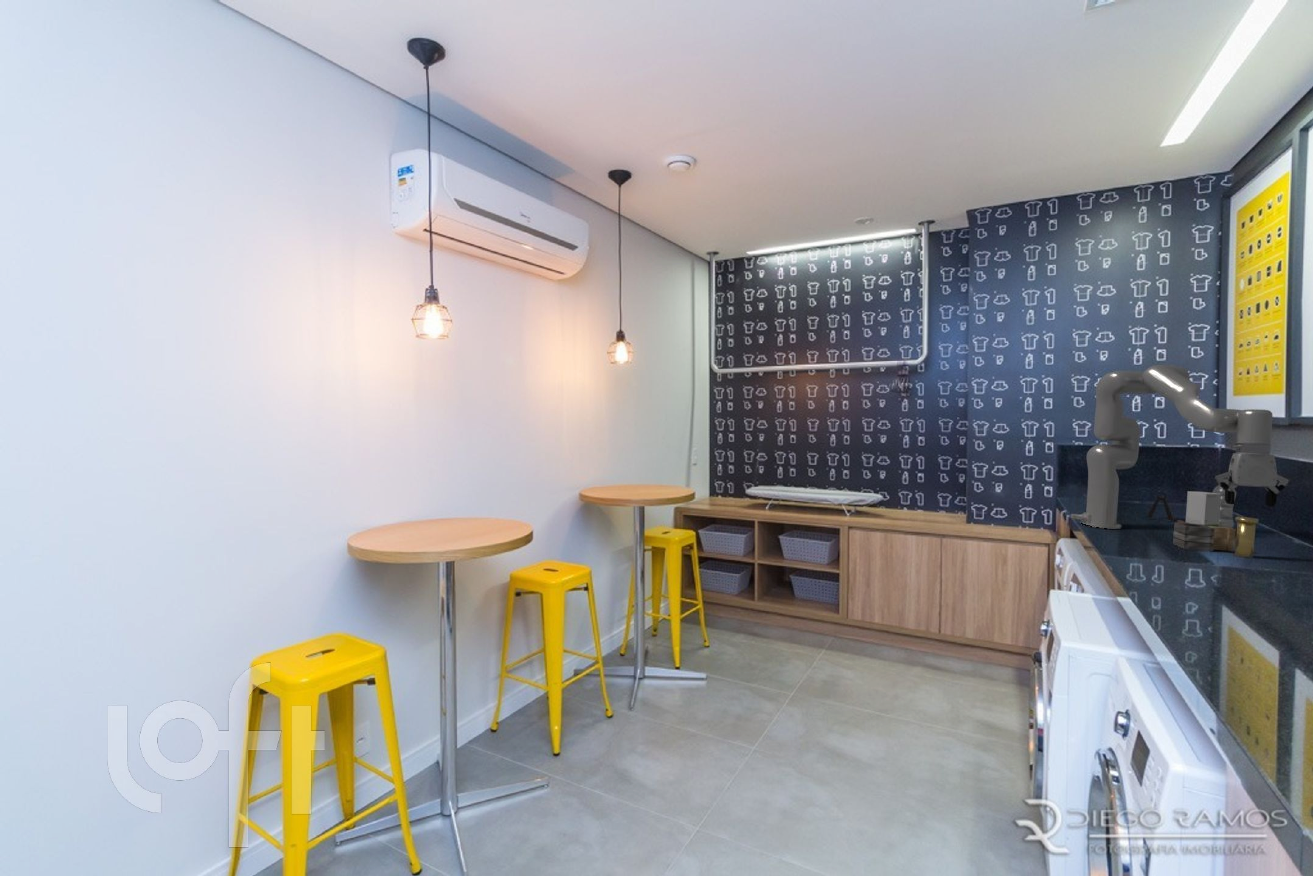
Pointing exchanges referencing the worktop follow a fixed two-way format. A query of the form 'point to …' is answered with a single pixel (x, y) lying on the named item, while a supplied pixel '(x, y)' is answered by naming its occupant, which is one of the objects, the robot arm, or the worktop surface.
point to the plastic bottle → (1225, 508)
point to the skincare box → (1203, 508)
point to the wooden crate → (1213, 538)
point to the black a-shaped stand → (1167, 508)
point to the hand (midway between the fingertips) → (1249, 504)
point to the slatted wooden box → (1193, 530)
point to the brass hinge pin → (1245, 536)
